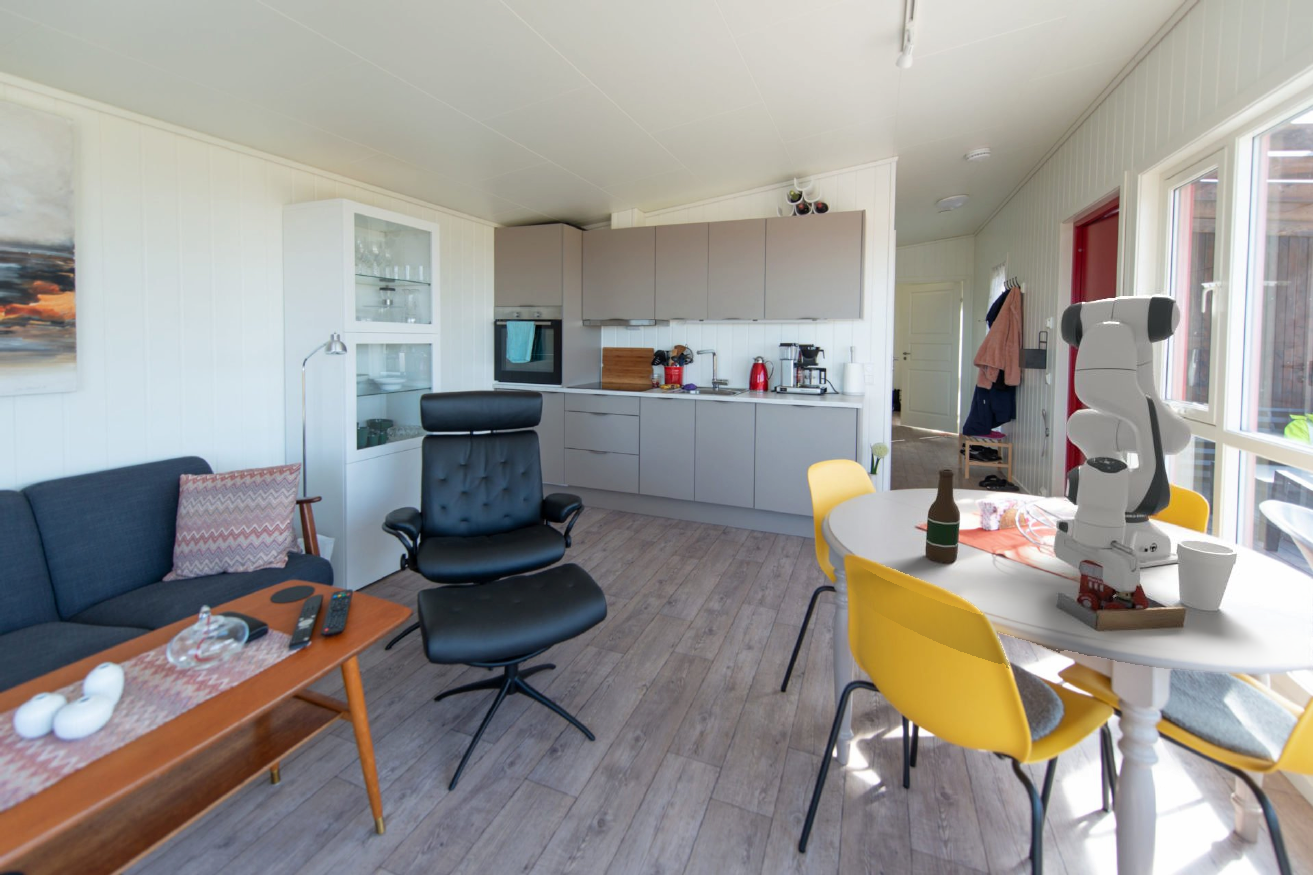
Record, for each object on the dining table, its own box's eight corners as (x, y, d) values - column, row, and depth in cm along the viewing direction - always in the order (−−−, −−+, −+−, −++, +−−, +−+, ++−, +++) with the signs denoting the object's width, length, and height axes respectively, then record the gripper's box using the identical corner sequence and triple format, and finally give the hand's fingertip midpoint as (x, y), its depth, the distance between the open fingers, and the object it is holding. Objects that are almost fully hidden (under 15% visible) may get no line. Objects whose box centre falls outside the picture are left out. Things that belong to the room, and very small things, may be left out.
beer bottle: (944, 565, 152) (950, 474, 148) (918, 556, 159) (923, 469, 155) (963, 560, 155) (970, 471, 152) (937, 551, 162) (943, 466, 158)
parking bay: (1134, 602, 129) (1137, 585, 128) (1183, 626, 118) (1186, 608, 117) (1056, 606, 128) (1058, 588, 127) (1098, 630, 117) (1100, 611, 116)
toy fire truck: (1134, 630, 117) (1140, 580, 115) (1067, 607, 128) (1071, 561, 126) (1152, 622, 120) (1158, 573, 118) (1085, 600, 131) (1089, 555, 129)
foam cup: (1159, 596, 132) (1166, 540, 130) (1197, 594, 133) (1204, 538, 131) (1201, 615, 123) (1209, 555, 121) (1241, 613, 124) (1250, 553, 122)
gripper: (1154, 551, 117) (1144, 615, 119) (1077, 517, 137) (1071, 573, 140) (1123, 552, 117) (1114, 617, 119) (1051, 518, 137) (1045, 574, 139)
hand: (1090, 593), depth 130 cm, fingers closed, pressing on toy fire truck
